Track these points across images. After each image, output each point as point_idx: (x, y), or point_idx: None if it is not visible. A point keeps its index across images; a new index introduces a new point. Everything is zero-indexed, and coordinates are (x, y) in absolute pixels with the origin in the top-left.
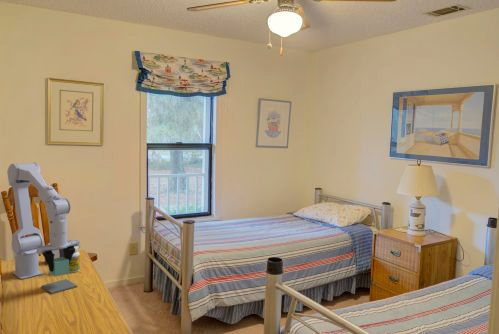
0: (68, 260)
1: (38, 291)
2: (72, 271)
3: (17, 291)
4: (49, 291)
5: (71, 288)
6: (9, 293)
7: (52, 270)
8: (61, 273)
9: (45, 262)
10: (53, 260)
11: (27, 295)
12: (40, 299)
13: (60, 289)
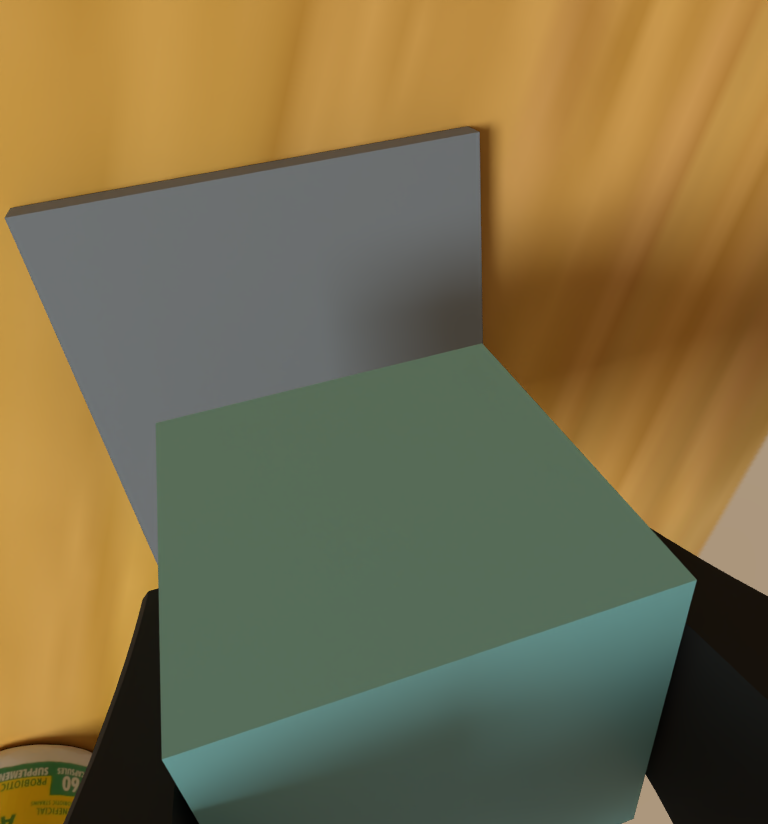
0: (185, 728)
1: (552, 340)
2: (39, 757)
3: (687, 443)
4: (477, 225)
5: (128, 187)
6: (753, 425)
7: None
8: (353, 398)
9: None
10: (757, 691)
11: (688, 278)
12: (664, 5)
13: (329, 186)
